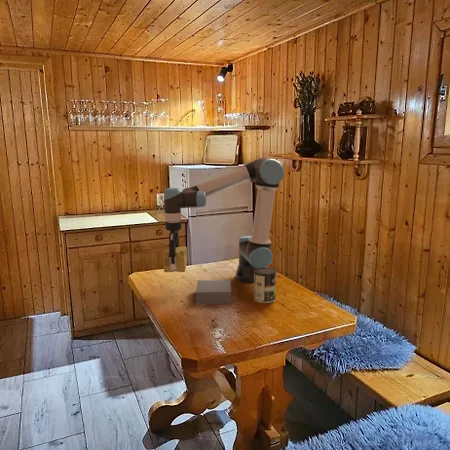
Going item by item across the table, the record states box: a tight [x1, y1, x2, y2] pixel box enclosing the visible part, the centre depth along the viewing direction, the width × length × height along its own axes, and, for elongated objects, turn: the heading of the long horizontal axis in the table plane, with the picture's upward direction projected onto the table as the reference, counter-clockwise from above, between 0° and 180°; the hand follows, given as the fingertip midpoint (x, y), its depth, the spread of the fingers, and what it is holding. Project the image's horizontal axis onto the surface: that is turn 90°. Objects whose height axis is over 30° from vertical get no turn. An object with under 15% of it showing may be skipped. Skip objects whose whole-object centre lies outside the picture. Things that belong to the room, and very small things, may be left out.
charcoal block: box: [195, 279, 232, 305], centre depth 193 cm, size 16×16×6 cm
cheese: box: [162, 246, 188, 273], centre depth 195 cm, size 10×11×10 cm
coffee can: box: [253, 266, 277, 304], centre depth 190 cm, size 10×10×14 cm
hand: (175, 266), depth 195 cm, fingers closed on cheese, 10 cm apart
